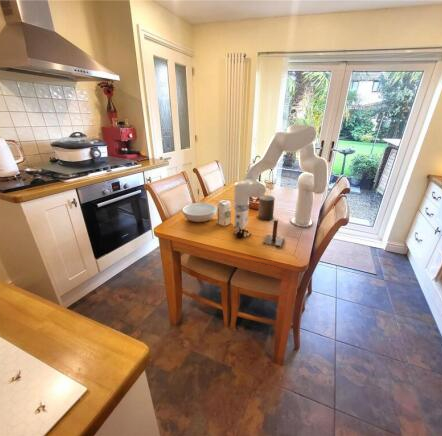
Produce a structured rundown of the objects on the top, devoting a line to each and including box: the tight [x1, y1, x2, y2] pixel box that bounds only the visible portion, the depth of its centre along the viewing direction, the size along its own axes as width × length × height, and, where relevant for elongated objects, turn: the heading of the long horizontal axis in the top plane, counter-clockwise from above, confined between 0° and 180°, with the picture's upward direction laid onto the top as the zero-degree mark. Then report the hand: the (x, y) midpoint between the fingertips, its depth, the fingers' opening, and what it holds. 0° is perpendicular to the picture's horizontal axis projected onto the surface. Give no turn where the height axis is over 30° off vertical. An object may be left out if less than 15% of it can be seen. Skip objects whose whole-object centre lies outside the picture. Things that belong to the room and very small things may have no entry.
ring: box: [233, 228, 252, 239], centre depth 129 cm, size 9×9×2 cm
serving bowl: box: [182, 201, 218, 223], centre depth 145 cm, size 21×21×7 cm
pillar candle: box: [257, 194, 275, 222], centre depth 148 cm, size 10×10×15 cm
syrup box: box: [217, 199, 232, 227], centre depth 137 cm, size 6×6×14 cm
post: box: [263, 218, 284, 249], centre depth 121 cm, size 9×9×13 cm
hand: (240, 237), depth 127 cm, fingers closed on ring, 2 cm apart
